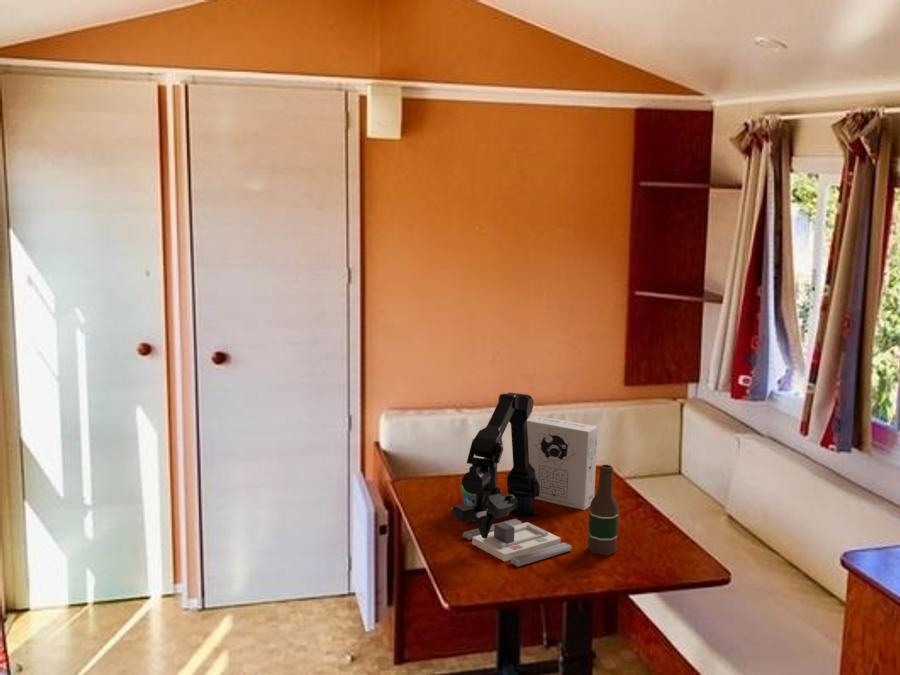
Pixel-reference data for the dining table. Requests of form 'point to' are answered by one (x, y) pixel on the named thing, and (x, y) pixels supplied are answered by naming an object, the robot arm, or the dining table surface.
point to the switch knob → (504, 532)
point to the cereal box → (563, 460)
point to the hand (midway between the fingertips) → (484, 537)
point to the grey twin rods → (527, 557)
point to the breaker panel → (517, 542)
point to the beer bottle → (603, 516)
